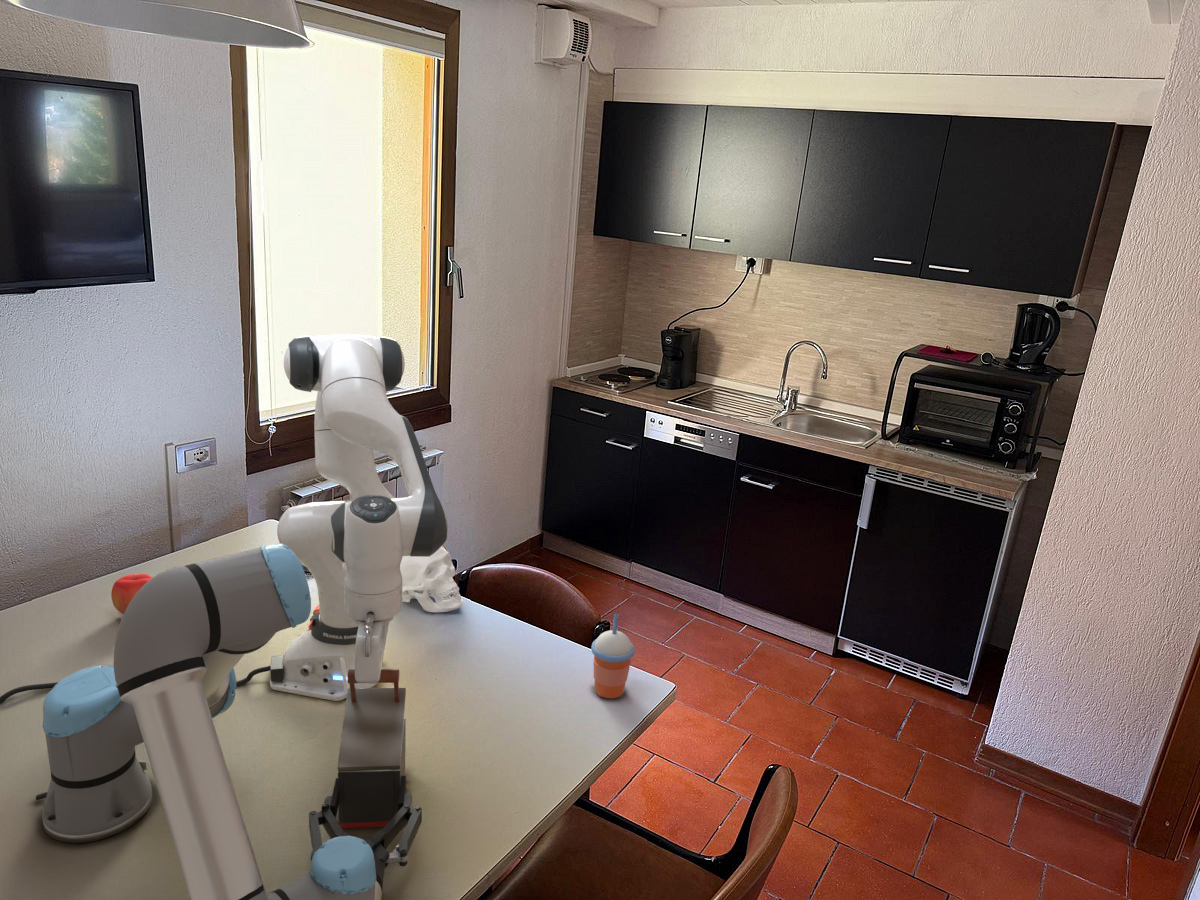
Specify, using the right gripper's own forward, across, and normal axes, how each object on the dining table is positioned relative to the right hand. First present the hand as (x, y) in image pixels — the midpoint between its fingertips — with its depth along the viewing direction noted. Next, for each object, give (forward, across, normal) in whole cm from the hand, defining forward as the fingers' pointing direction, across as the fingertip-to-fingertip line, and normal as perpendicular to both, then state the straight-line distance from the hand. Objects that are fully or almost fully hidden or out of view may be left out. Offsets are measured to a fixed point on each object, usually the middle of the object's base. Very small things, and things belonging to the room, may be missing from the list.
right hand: (373, 675), depth 138 cm
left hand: (+18, -4, 0) cm, 18 cm away
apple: (+24, +64, +59) cm, 90 cm away
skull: (+24, +71, -6) cm, 75 cm away
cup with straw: (+24, +30, -46) cm, 60 cm away
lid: (+10, -1, 0) cm, 10 cm away
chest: (+24, 0, 0) cm, 24 cm away
